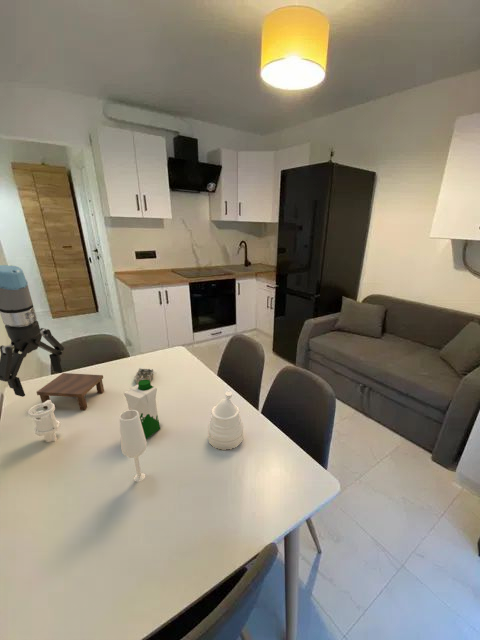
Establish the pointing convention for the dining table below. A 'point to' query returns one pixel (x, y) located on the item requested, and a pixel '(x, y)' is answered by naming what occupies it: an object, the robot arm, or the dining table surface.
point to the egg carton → (144, 375)
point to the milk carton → (144, 405)
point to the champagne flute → (132, 438)
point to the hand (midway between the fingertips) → (40, 382)
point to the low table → (72, 387)
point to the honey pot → (225, 425)
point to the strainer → (45, 421)
